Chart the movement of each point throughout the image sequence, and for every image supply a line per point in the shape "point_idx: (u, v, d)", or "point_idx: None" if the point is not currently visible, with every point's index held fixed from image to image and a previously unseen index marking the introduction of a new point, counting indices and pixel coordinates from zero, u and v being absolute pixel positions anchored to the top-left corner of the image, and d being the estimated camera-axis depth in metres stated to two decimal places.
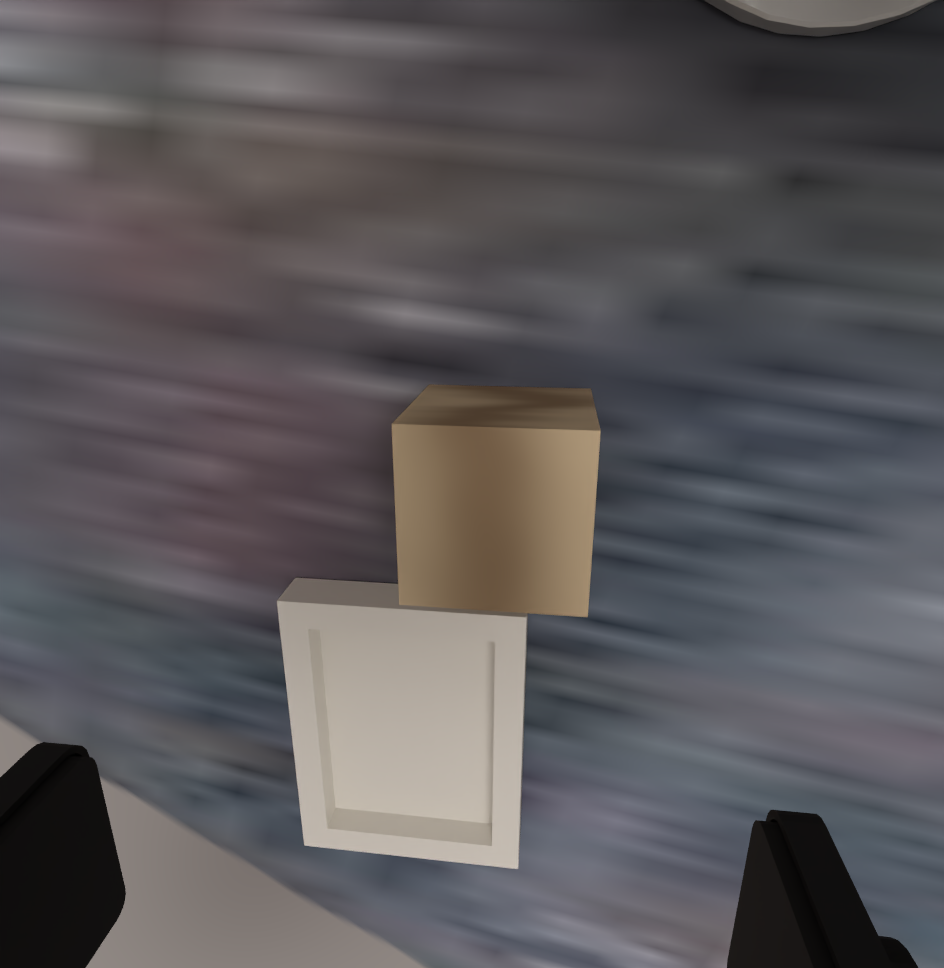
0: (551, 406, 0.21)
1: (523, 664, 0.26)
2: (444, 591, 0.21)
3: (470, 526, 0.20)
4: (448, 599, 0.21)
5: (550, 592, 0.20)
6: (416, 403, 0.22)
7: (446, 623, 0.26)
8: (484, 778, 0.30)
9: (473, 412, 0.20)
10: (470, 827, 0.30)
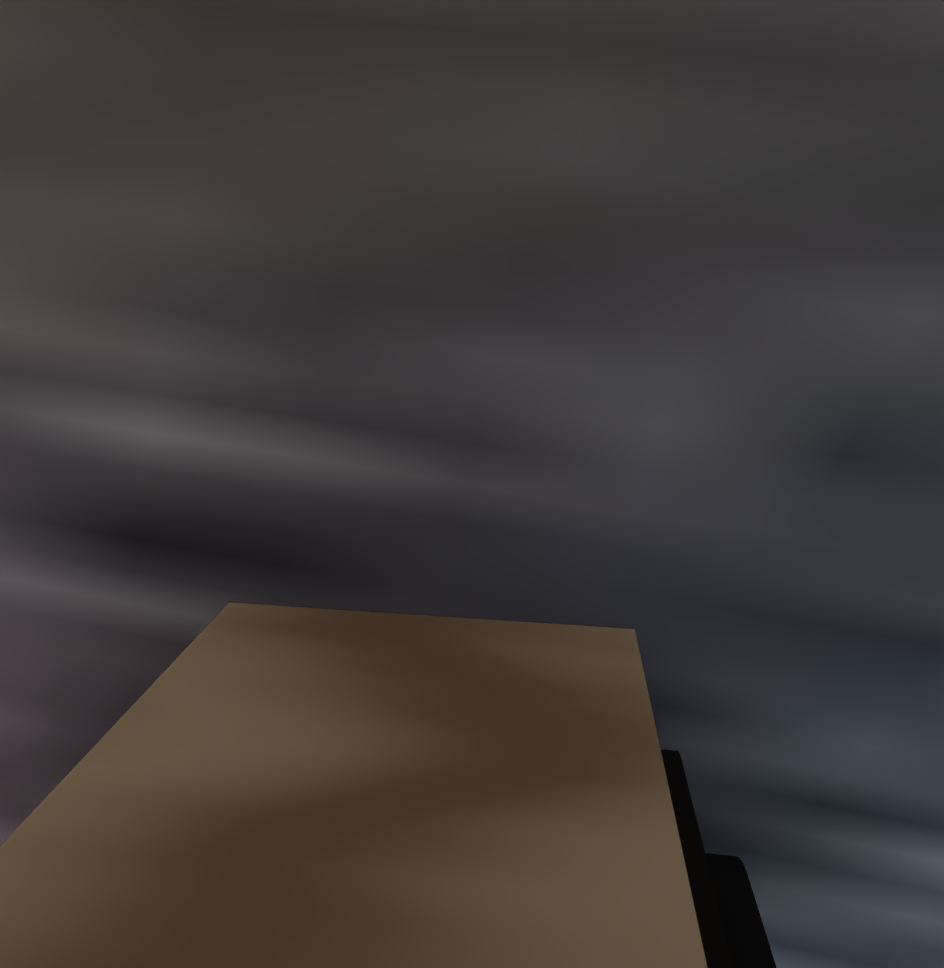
0: (526, 791, 0.06)
1: None
2: None
3: None
4: None
5: None
6: (99, 755, 0.07)
7: None
8: None
9: (236, 875, 0.06)
10: None
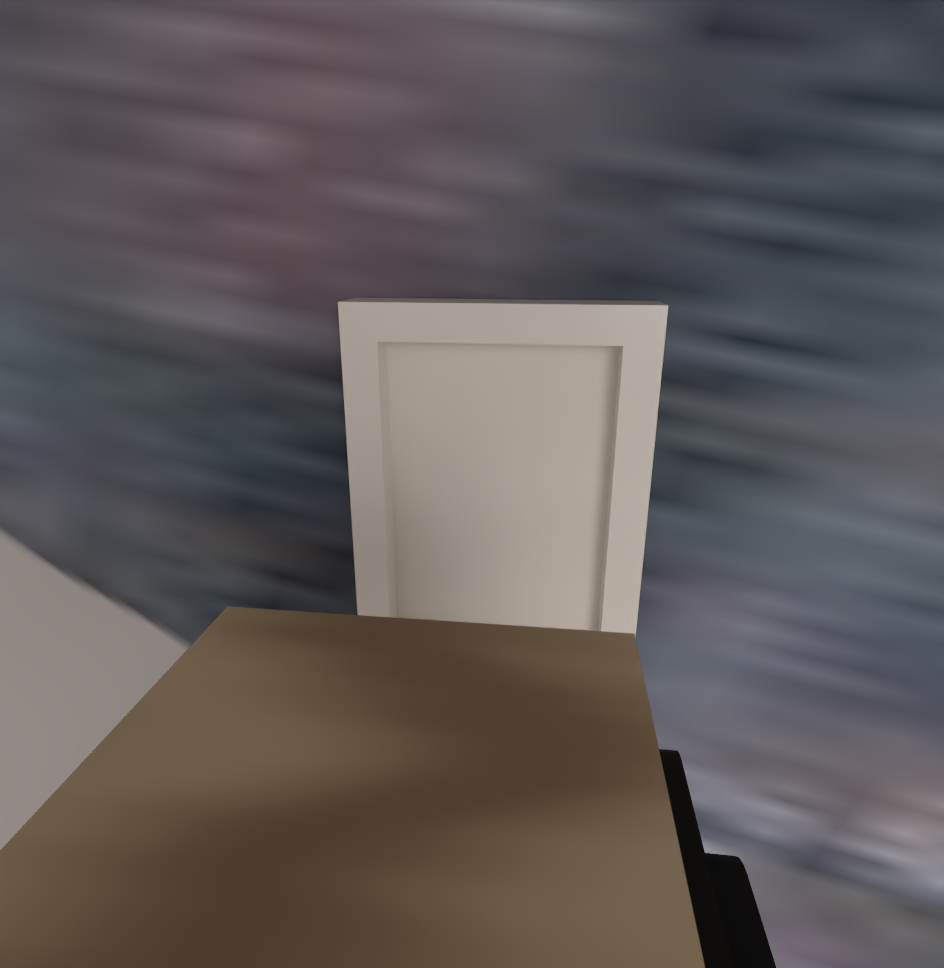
0: (525, 798, 0.06)
1: (659, 377, 0.20)
2: None
3: None
4: None
5: None
6: (96, 762, 0.07)
7: (560, 321, 0.20)
8: (589, 565, 0.24)
9: (235, 884, 0.06)
10: None
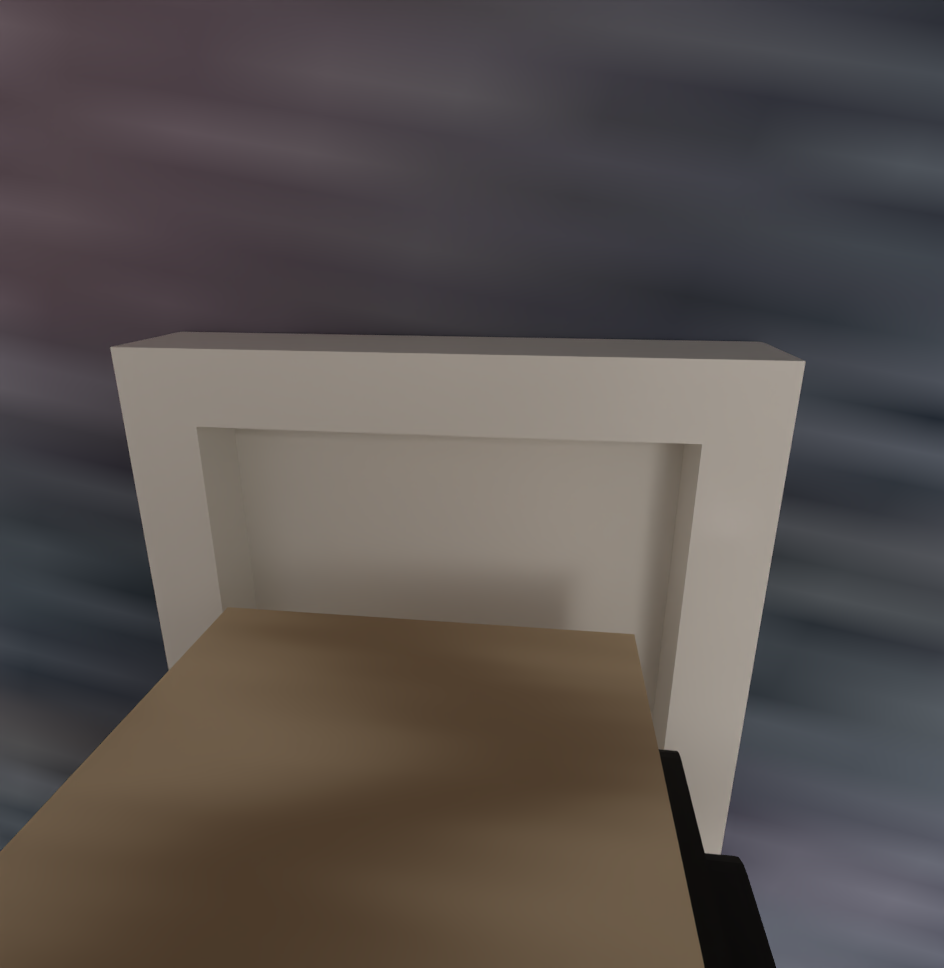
0: (525, 799, 0.06)
1: (776, 508, 0.09)
2: None
3: None
4: None
5: None
6: (98, 762, 0.07)
7: (568, 392, 0.09)
8: None
9: (234, 884, 0.06)
10: None
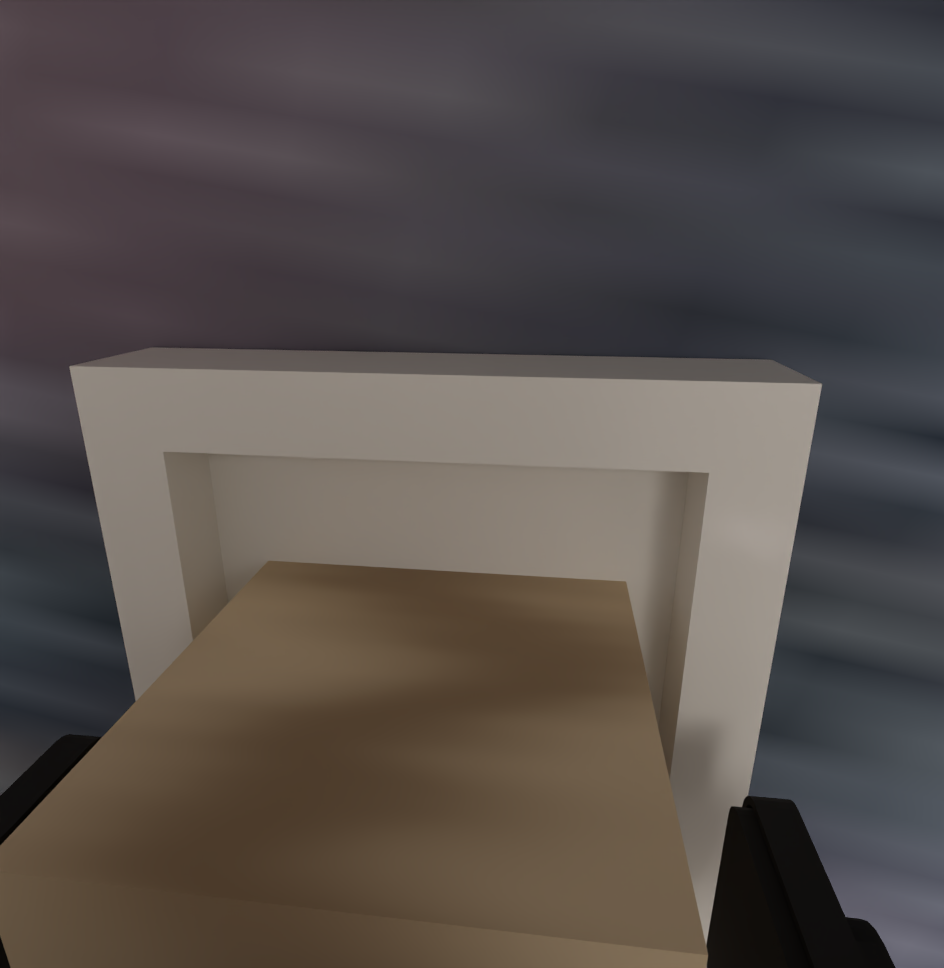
0: (532, 698, 0.08)
1: (789, 542, 0.09)
2: None
3: None
4: None
5: None
6: (174, 674, 0.08)
7: (564, 416, 0.09)
8: None
9: (299, 755, 0.07)
10: None
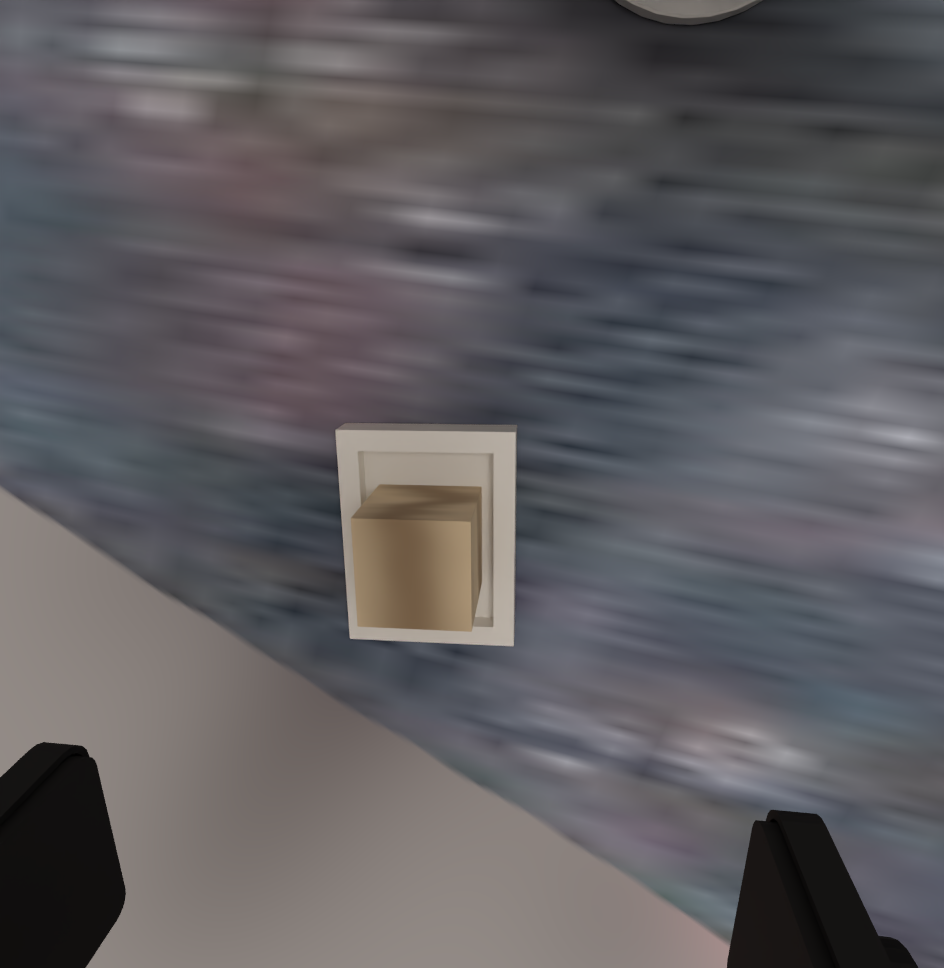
0: (450, 502, 0.35)
1: (514, 470, 0.36)
2: (384, 617, 0.34)
3: (398, 577, 0.33)
4: (387, 622, 0.34)
5: (448, 617, 0.34)
6: (368, 501, 0.35)
7: (458, 440, 0.36)
8: (487, 577, 0.39)
9: (401, 509, 0.34)
10: (476, 619, 0.40)
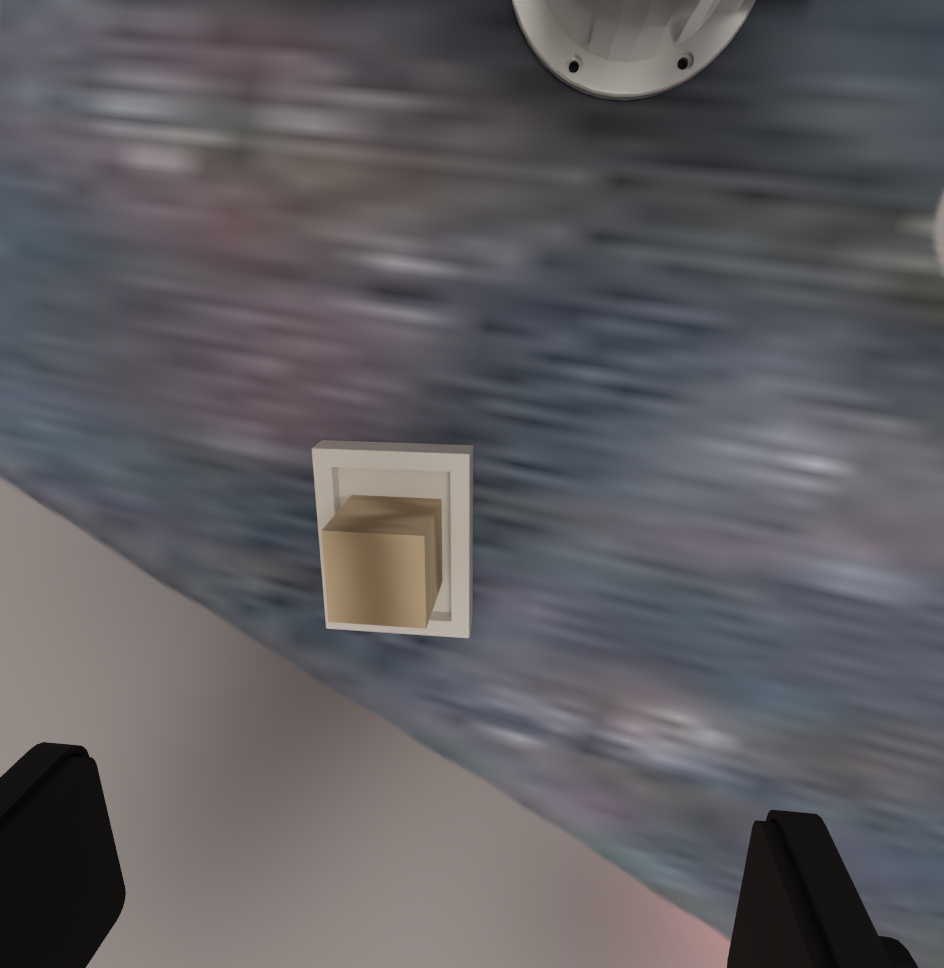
0: (410, 515, 0.40)
1: (468, 486, 0.41)
2: (351, 614, 0.39)
3: (363, 581, 0.38)
4: (354, 619, 0.39)
5: (406, 615, 0.39)
6: (338, 512, 0.40)
7: (419, 460, 0.41)
8: (447, 578, 0.44)
9: (366, 521, 0.39)
10: (437, 613, 0.45)
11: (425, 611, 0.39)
